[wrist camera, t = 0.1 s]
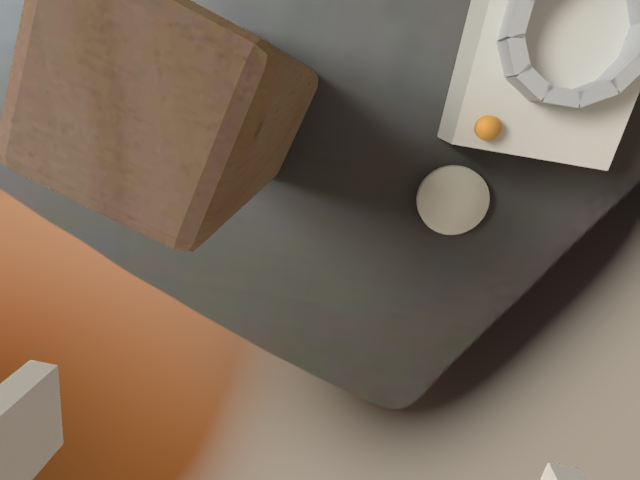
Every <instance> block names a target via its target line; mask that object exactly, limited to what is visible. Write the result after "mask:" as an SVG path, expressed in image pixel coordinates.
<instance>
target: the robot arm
mask: <svg viewBox="0 0 640 480" xmlns="http://www.w3.org/2000/svg"><path fill="white" fill-rule="evenodd" d="M62 444H63V433H62V418H61V404H60V390H59V376H58V365H53V364H49V363H43V362H38V361H34V360H30V361H28V362H27V363H26V364H25V365H23V366H22V367H21V368H20V369H18V370H17V371H16V372H14V373H13V374H12V375H11V376H10V377H8V378H7V379H6V380H4V381H3V382H2V383H1V384H0V480H32V479H33V478H34V477H35V476H36V475H37V474H38V472H39V471H40V470H41V469H42V468H43V467H44V465H45V464H46V463H47V462H48V461H49V459H50V458H51V457H52V456H53V455H54V454H55V453H56V451H57V450H58V449H59V448H60V446H62ZM540 480H585V478H584V477H583V475H582V473H581V472H580V470H579V468H576V467H571V466H566V465H561V464H556V463H551V462H548V464H547V466H546V468H545V470H544V472H543V475H542V477H541V479H540Z"/></svg>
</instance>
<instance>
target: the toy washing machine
mask: <svg viewBox="0 0 640 480" xmlns="http://www.w3.org/2000/svg"><path fill="white" fill-rule="evenodd" d="M639 92H640V0H471V2H470V6H469V10H468V14H467V18H466V22H465V26H464V30H463V34H462V38H461V42H460V46H459V50H458V54H457V58H456V62H455V66H454V70H453V74H452V78H451V82H450V86H449V90H448V94H447V98H446V103H445V107H444V111H443V115H442V119H441V123H440V127H439V131H438V135H437V137H438V138H440V139H442V140H444V141H446V142H448V143H450V144H453V145H459V146H465V147H470V148H476V149H482V150H488V151H494V152H500V153H505V154H511V155H517V156H523V157H529V158H535V159H540V160H546V161H552V162H558V163H564V164H570V165H576V166H581V167H587V168H593V169H599V170H605V171H608V170H609V167H610V165H611V162H612V160H613V157H614V155H615V152H616V150H617V147H618V145H619V142H620V140H621V137H622V135H623V132H624V130H625V127H626V125H627V122H628V120H629V117H630V115H631V112H632V110H633V107H634V105H635V102H636V100H637V97H638V95H639Z"/></svg>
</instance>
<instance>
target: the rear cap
mask: <svg viewBox="0 0 640 480" xmlns="http://www.w3.org/2000/svg"><path fill="white" fill-rule="evenodd" d="M489 202H490V194H489V190H488V187H487V184H486V183H485V181H484V180H483V178H482V177H481V176H480V175H479V174H477V173H476V172H474V171H473V170H471V169H469V168H467V167H465V166H461V165H446V166H442V167H440V168H437V169H435V170H434V171H432V172H431V173H429V174H428V175H427V176H426V177H425V178H424V180H423V181H422V183H421V184H420V186H419V188H418V191H417V196H416V205H417V209H418V212H419V214H420V216H421V218H422V220H423V221H424V223H425V224H426V225H427V226H428V227H429V228H431V229H432V230H434V231H436V232H438V233H441V234H445V235H456V234H461V233H464V232H467V231H469V230H471V229H472V228H474V227H475V226H476V225H478V224H479V223H480V221H481V220H482V219H483V218H484V216H485V214H486V212H487V210H488V207H489Z"/></svg>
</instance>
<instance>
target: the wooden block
mask: <svg viewBox="0 0 640 480" xmlns="http://www.w3.org/2000/svg"><path fill="white" fill-rule="evenodd" d="M318 78H319V77H318V76H317V74H316V73H315V72H314V71H313V70H312V69H311V68H309V67H308V66H306V65H304V64H303V63H301V62H299V61H298V60H296V59H295V58H293V57H291V56H290V55H288V54H286V53H285V52H283V51H281V50H280V49H278V48H277V47H275V46H273V45H272V44H270V43H268V42H267V41H265V40H263V39H262V38H260V37H258V36H256V35H254V34H252V33H250V32H249V31H247V30H245V29H243V28H241V27H239V26H237V25H235V24H234V23H232V22H230V21H228V20H226V19H224V18H222V17H220V16H219V15H217V14H215V13H213V12H211V11H209V10H207V9H205V8H204V7H202V6H200V5H198V4H196V3H194V2H192V1H190V0H24V5H23V10H22V15H21V21H20V26H19V31H18V36H17V41H16V46H15V51H14V56H13V61H12V66H11V71H10V76H9V81H8V86H7V91H6V96H5V101H4V106H3V111H2V116H1V121H0V161H1V162H2V163H3V164H4V165H5V166H6V167H7V168H8V169H10V170H12V171H14V172H16V173H18V174H20V175H22V176H24V177H26V178H28V179H30V180H32V181H35V182H37V183H39V184H41V185H43V186H45V187H47V188H49V189H51V190H53V191H55V192H57V193H59V194H61V195H63V196H65V197H67V198H69V199H72V200H74V201H76V202H78V203H80V204H82V205H84V206H86V207H88V208H90V209H92V210H94V211H96V212H98V213H100V214H102V215H104V216H106V217H108V218H111V219H113V220H115V221H117V222H119V223H121V224H123V225H125V226H127V227H129V228H131V229H133V230H135V231H137V232H139V233H141V234H143V235H145V236H148V237H150V238H152V239H154V240H156V241H158V242H160V243H162V244H164V245H166V246H168V247H170V248H172V249H175V250H181V251H187V252H189V251H194V250H195V249H197V248H198V247H199V246H200V245H201V244H202V243H203V242H204V241H206V240H207V239H208V238H209V237H210V236H211V235H212V234H213V233H214V232H215V231H216V230H218V229H219V228H220V227H221V226H222V225H223V224H224V223H225V222H226V221H227V220H228V219H230V218H231V217H232V216H233V215H234V214H235V213H236V212H237V211H238V210H239V209H240V208H241V207H243V206H244V205H245V204H246V203H247V202H248V201H249V200H250V199H251V198H252V197H253V196H255V195H256V194H257V193H258V192H259V191H260V190H261V189H262V188H263V187H264V186H265V185H266V184H268V183H269V182H270V181H271V180H272V179H273V178H274V177H275V176H276V175H277V174H278V173H279V170H280V168H281V166H282V164H283V162H284V160H285V157H286V155H287V153H288V151H289V149H290V147H291V144H292V142H293V140H294V138H295V136H296V134H297V131H298V129H299V127H300V125H301V123H302V121H303V118H304V116H305V114H306V112H307V110H308V108H309V105H310V103H311V101H312V99H313V97H314V95H315V92H316V90H317V88H318Z"/></svg>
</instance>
